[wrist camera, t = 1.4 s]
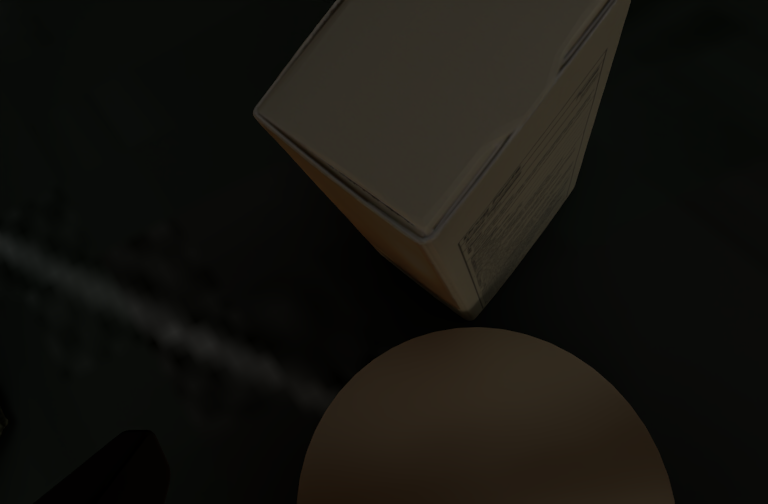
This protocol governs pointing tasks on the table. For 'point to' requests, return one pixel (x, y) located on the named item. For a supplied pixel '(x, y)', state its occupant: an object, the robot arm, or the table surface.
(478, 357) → the tan round disc
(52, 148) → the table surface
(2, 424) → the pouch
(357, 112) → the skincare box
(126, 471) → the robot arm
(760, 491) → the table surface
